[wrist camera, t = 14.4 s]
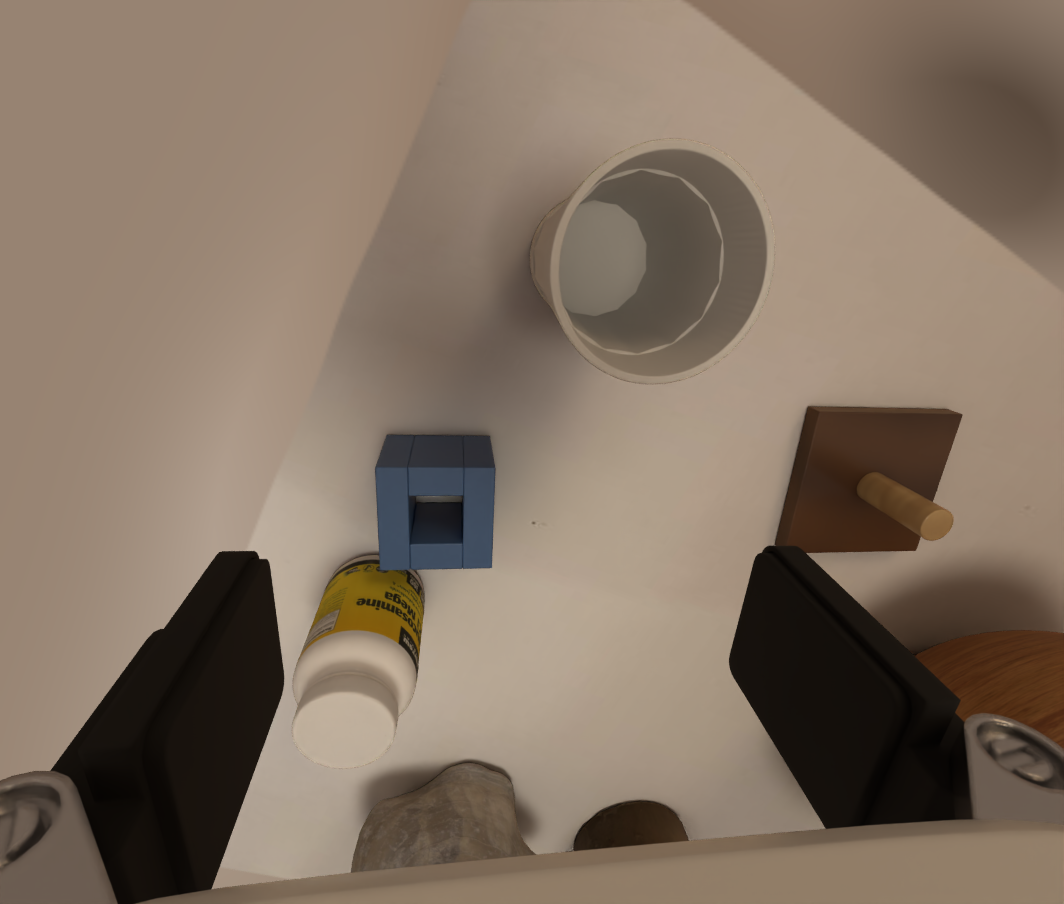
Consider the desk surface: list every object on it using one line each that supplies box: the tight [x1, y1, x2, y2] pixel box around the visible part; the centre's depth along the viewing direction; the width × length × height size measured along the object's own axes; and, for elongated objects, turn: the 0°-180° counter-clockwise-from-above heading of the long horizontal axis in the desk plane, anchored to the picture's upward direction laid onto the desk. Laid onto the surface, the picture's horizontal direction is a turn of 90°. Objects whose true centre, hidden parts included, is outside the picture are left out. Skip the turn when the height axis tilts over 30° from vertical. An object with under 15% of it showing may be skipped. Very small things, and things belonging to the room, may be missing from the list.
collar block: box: [375, 435, 495, 570], centre depth 31 cm, size 6×6×5 cm
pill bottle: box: [292, 555, 425, 769], centre depth 31 cm, size 6×6×11 cm
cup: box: [530, 139, 775, 384], centre depth 24 cm, size 8×8×12 cm
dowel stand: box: [775, 407, 962, 553], centre depth 34 cm, size 10×10×7 cm
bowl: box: [915, 630, 1064, 749], centre depth 39 cm, size 25×25×15 cm
